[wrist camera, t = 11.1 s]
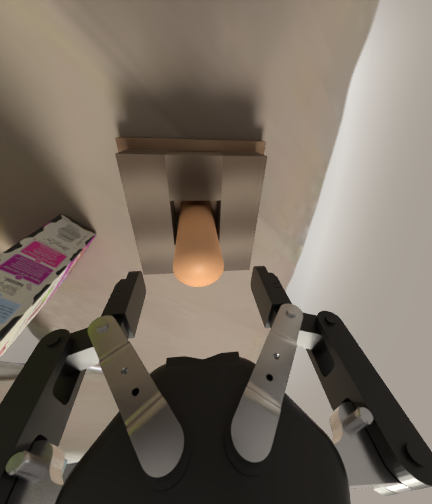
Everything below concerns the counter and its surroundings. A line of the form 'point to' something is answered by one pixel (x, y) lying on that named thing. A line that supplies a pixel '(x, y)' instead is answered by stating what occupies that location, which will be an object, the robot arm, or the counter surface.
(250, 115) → the counter surface
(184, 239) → the wooden pin
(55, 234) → the candy bar box
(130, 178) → the socket block
